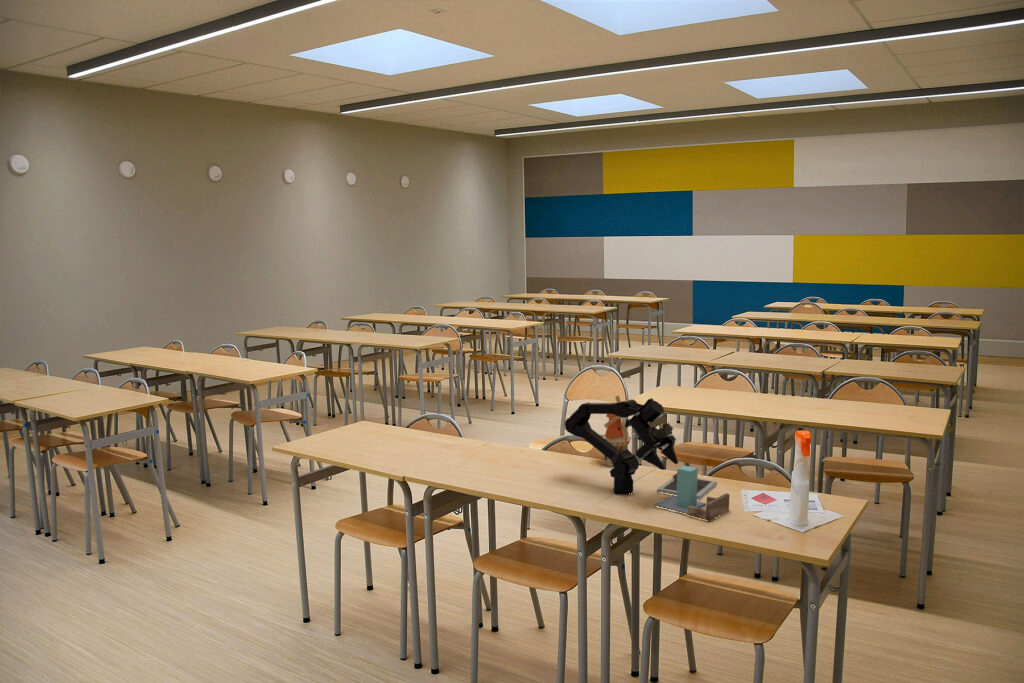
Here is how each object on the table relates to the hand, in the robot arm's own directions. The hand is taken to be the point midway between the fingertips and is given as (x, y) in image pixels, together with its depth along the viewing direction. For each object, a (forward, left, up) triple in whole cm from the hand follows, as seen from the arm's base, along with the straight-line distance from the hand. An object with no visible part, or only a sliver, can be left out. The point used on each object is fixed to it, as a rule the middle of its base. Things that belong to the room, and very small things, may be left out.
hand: (670, 466), depth 270 cm
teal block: (+5, -4, -12) cm, 14 cm away
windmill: (-15, +48, -14) cm, 52 cm away
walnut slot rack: (+11, -9, -13) cm, 20 cm away
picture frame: (+10, +17, -14) cm, 24 cm away
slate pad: (+3, -3, -13) cm, 14 cm away
